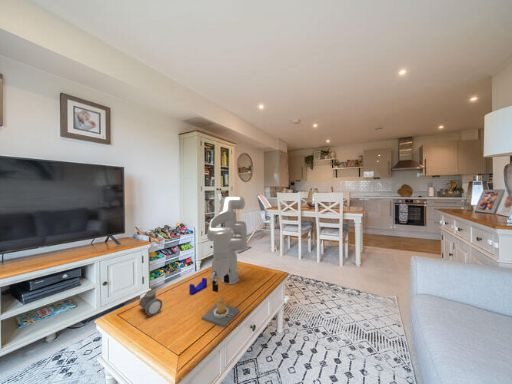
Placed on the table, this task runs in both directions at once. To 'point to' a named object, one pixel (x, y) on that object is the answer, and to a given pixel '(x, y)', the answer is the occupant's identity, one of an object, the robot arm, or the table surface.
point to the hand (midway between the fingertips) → (221, 286)
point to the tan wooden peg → (221, 306)
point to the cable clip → (198, 287)
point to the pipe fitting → (151, 303)
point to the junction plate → (220, 319)
